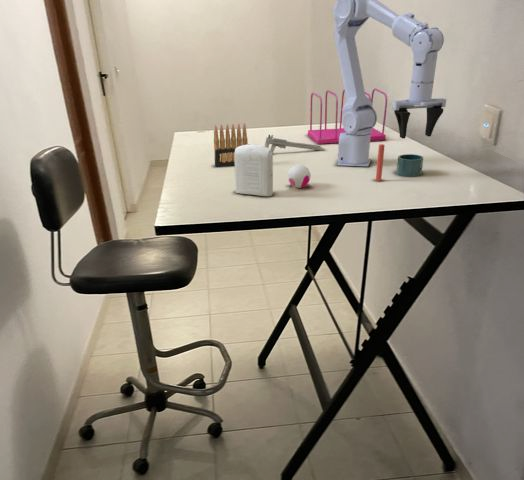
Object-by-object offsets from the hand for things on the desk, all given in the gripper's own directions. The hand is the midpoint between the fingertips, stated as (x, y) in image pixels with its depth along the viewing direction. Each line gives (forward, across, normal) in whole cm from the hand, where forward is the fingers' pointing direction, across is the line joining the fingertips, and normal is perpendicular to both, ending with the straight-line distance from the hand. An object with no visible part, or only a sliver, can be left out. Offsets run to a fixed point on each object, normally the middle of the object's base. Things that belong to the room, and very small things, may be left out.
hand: (415, 136), depth 146 cm
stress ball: (+10, -34, -3) cm, 35 cm away
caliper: (+10, -24, +37) cm, 46 cm away
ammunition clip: (+10, -48, +27) cm, 56 cm away
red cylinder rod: (+10, -11, -3) cm, 15 cm away
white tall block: (+10, -47, -5) cm, 48 cm away
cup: (+10, 0, +1) cm, 10 cm away
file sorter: (+10, 0, +53) cm, 54 cm away
